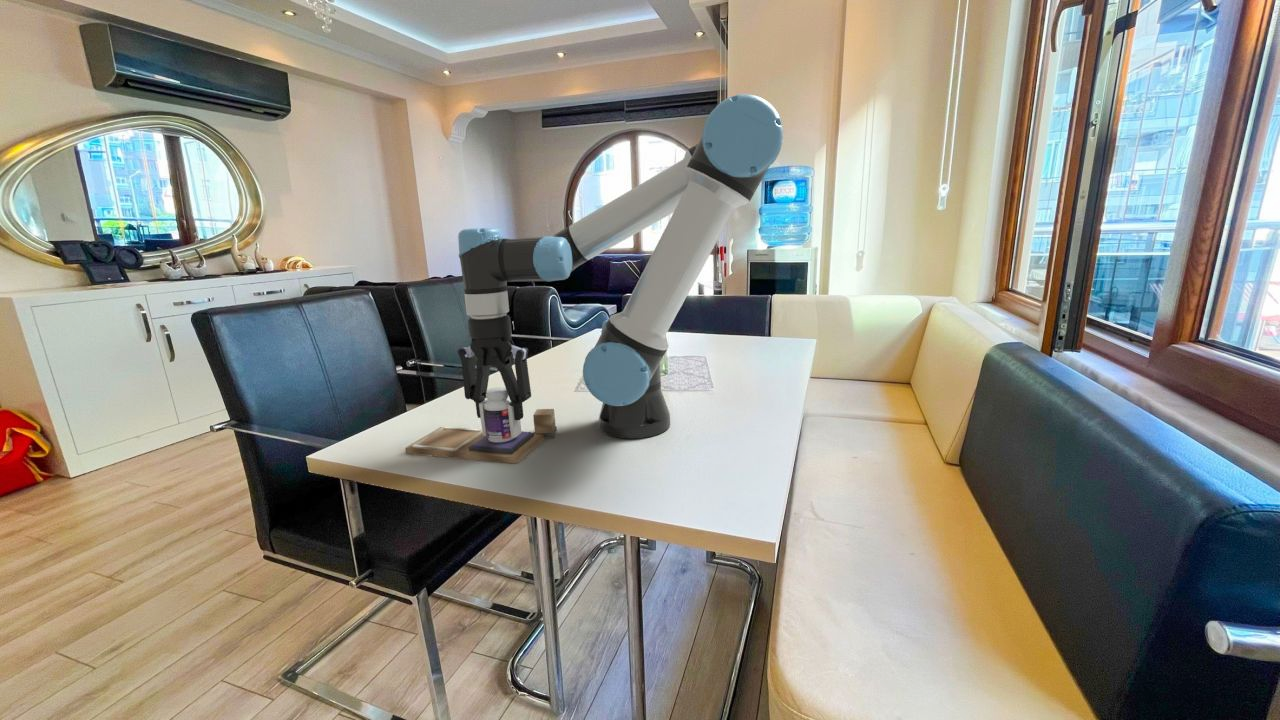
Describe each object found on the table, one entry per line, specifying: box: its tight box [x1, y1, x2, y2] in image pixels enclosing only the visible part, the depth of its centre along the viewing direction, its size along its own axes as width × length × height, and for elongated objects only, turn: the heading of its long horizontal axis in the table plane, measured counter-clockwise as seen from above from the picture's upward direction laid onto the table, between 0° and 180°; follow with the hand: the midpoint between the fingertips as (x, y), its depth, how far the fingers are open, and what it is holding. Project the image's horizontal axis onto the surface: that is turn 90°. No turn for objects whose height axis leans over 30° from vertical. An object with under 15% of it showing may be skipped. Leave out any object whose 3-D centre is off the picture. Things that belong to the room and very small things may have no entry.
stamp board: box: [404, 426, 545, 465], centre depth 102 cm, size 24×11×2 cm, turn 74°
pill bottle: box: [484, 386, 514, 443], centre depth 99 cm, size 5×5×10 cm
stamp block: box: [533, 408, 558, 439], centre depth 107 cm, size 4×4×5 cm
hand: (502, 433), depth 100 cm, fingers closed on pill bottle, 5 cm apart
